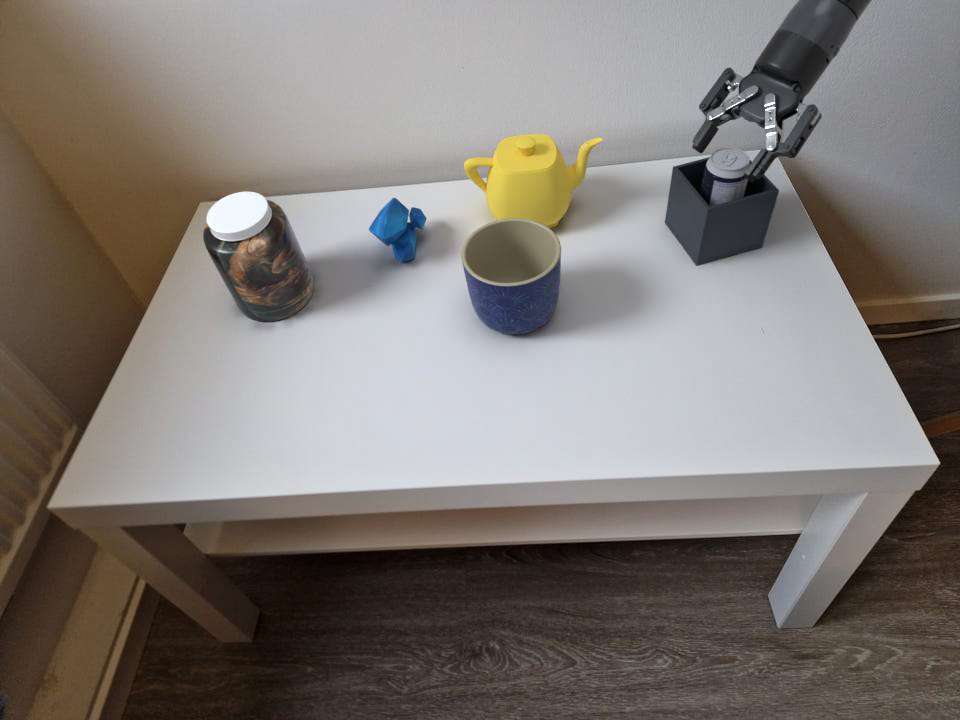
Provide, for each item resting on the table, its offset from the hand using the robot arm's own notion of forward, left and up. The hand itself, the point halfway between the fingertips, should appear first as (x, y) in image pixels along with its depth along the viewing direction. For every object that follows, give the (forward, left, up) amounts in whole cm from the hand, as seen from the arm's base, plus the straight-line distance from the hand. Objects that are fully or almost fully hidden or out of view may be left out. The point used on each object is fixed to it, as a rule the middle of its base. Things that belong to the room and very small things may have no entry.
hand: (721, 164), depth 85 cm
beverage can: (-1, -1, -12) cm, 12 cm away
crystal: (+42, -15, -13) cm, 46 cm away
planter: (+30, +3, -13) cm, 33 cm away
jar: (+62, -13, -13) cm, 64 cm away
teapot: (+21, -16, -13) cm, 29 cm away
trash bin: (-1, -1, -13) cm, 13 cm away
